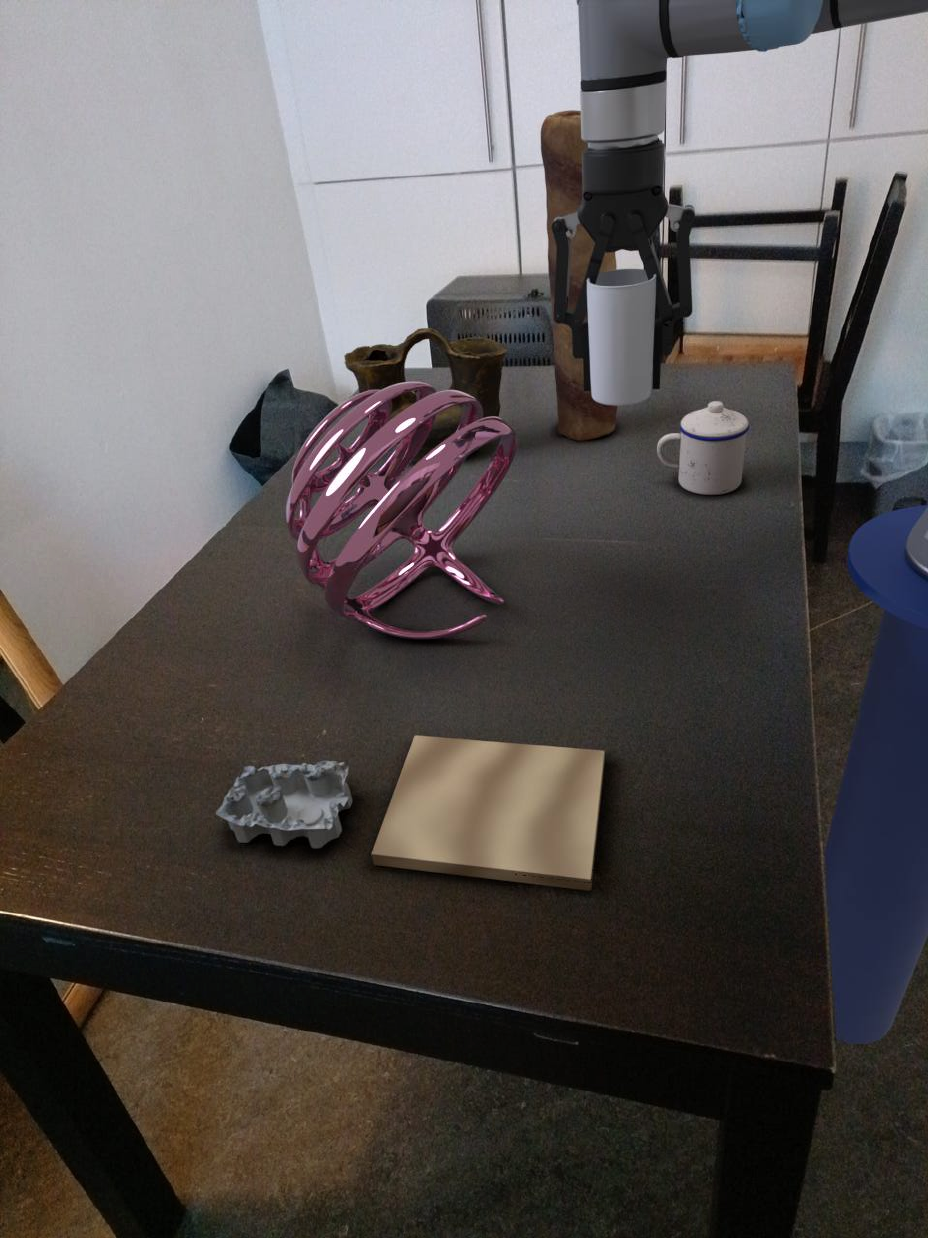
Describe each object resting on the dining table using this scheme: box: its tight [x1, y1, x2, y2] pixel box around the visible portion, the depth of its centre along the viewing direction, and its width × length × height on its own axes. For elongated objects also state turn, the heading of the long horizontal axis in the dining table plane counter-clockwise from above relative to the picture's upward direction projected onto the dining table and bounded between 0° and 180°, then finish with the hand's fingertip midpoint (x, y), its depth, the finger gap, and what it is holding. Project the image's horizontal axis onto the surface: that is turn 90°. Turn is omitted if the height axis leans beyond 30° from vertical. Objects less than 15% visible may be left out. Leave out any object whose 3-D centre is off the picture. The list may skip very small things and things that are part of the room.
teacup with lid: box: [656, 400, 750, 496], centre depth 113 cm, size 12×9×12 cm
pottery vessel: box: [343, 327, 508, 463], centre depth 128 cm, size 25×11×20 cm, turn 89°
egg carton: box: [215, 760, 353, 849], centre depth 73 cm, size 11×8×4 cm
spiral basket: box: [285, 381, 519, 641], centre depth 91 cm, size 28×28×27 cm
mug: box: [587, 268, 656, 407], centre depth 85 cm, size 10×7×12 cm, turn 165°
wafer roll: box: [540, 109, 618, 442], centre depth 123 cm, size 10×11×45 cm
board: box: [370, 734, 606, 892], centre depth 71 cm, size 18×14×2 cm
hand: (622, 385), depth 89 cm, fingers closed on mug, 6 cm apart
